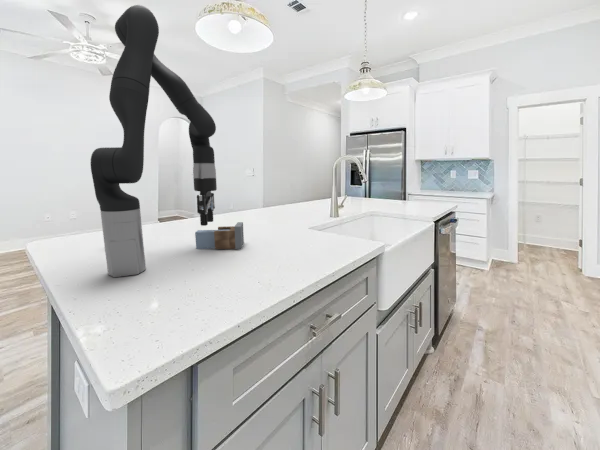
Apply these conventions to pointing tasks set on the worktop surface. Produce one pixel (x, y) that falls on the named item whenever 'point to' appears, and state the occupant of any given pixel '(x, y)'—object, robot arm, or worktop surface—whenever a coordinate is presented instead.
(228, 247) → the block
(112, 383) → the worktop surface
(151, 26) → the robot arm
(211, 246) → the peg
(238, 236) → the wall
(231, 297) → the worktop surface
